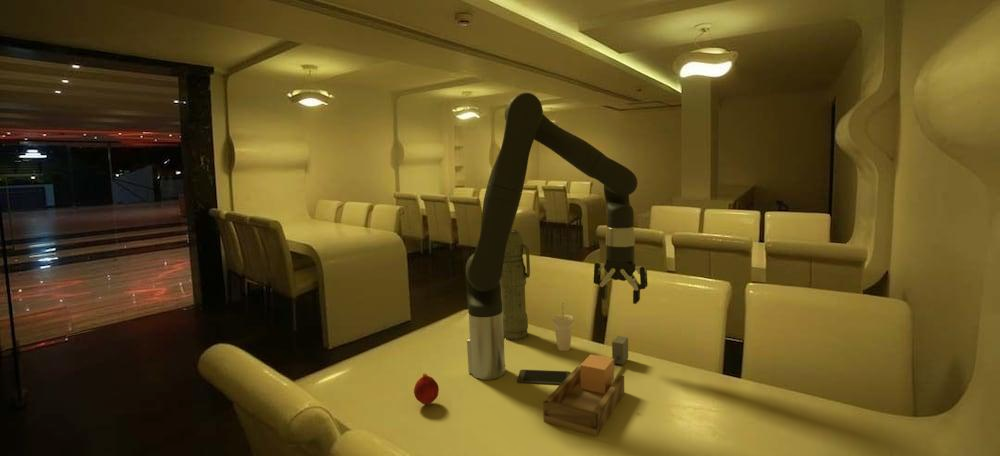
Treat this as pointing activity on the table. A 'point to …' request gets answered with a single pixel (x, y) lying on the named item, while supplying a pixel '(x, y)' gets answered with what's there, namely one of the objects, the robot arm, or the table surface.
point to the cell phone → (542, 377)
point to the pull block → (603, 367)
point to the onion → (426, 389)
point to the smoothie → (563, 330)
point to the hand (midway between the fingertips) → (619, 301)
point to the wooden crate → (581, 405)
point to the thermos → (514, 288)
